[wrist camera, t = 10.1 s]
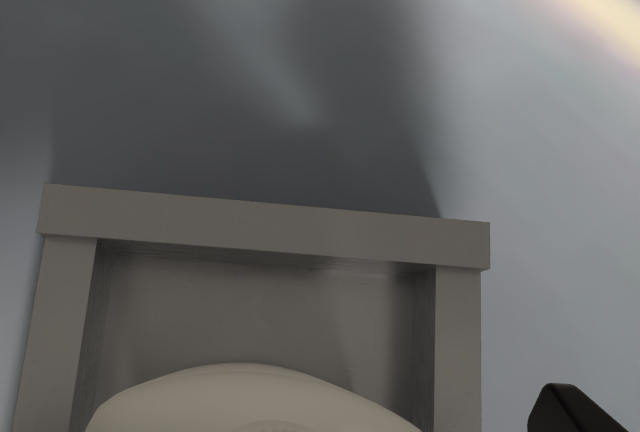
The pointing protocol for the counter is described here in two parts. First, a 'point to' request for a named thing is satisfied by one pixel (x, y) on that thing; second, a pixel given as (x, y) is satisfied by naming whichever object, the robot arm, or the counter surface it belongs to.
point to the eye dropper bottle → (242, 404)
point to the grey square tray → (251, 302)
